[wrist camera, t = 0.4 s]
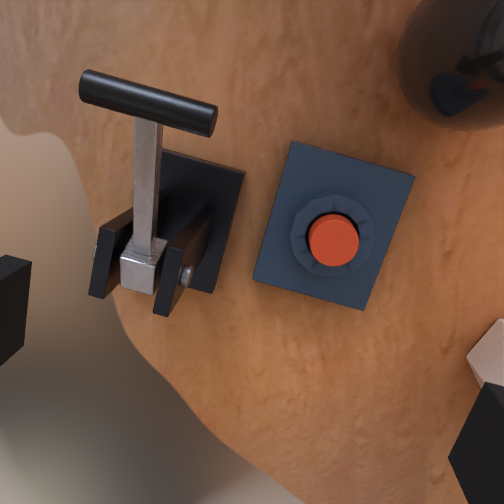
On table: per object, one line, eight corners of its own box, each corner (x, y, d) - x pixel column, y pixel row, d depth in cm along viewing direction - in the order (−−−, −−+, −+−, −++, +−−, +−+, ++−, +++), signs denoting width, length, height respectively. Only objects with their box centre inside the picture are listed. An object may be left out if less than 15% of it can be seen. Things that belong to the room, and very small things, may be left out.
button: (316, 208, 35) (318, 214, 33) (361, 221, 35) (366, 227, 33) (303, 251, 36) (303, 259, 34) (346, 263, 36) (349, 272, 34)
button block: (292, 140, 37) (292, 143, 33) (409, 173, 37) (423, 180, 33) (253, 272, 41) (250, 289, 37) (360, 302, 41) (368, 322, 37)
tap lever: (96, 59, 21) (71, 81, 19) (222, 95, 21) (209, 121, 19) (106, 252, 30) (90, 278, 28) (193, 276, 30) (182, 304, 28)
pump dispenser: (487, -51, 32) (652, -186, 18) (547, 80, 34) (738, 56, 20) (359, 36, 34) (411, -19, 20) (423, 154, 36) (512, 182, 22)
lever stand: (154, 145, 38) (82, 163, 25) (245, 171, 38) (223, 202, 25) (130, 264, 41) (56, 335, 28) (214, 288, 41) (180, 370, 28)
